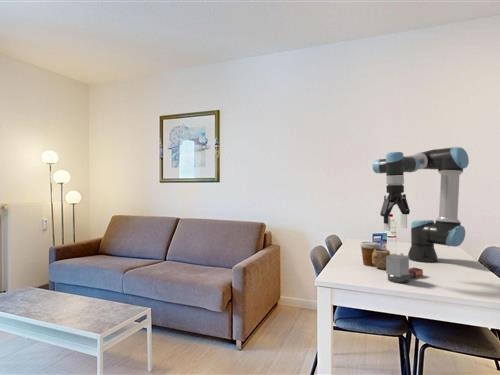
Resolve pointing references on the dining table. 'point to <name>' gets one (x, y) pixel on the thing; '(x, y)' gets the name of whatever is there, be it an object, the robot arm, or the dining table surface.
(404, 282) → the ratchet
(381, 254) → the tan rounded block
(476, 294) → the dining table surface
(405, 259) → the grey upright box
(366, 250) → the disposable coffee cup
